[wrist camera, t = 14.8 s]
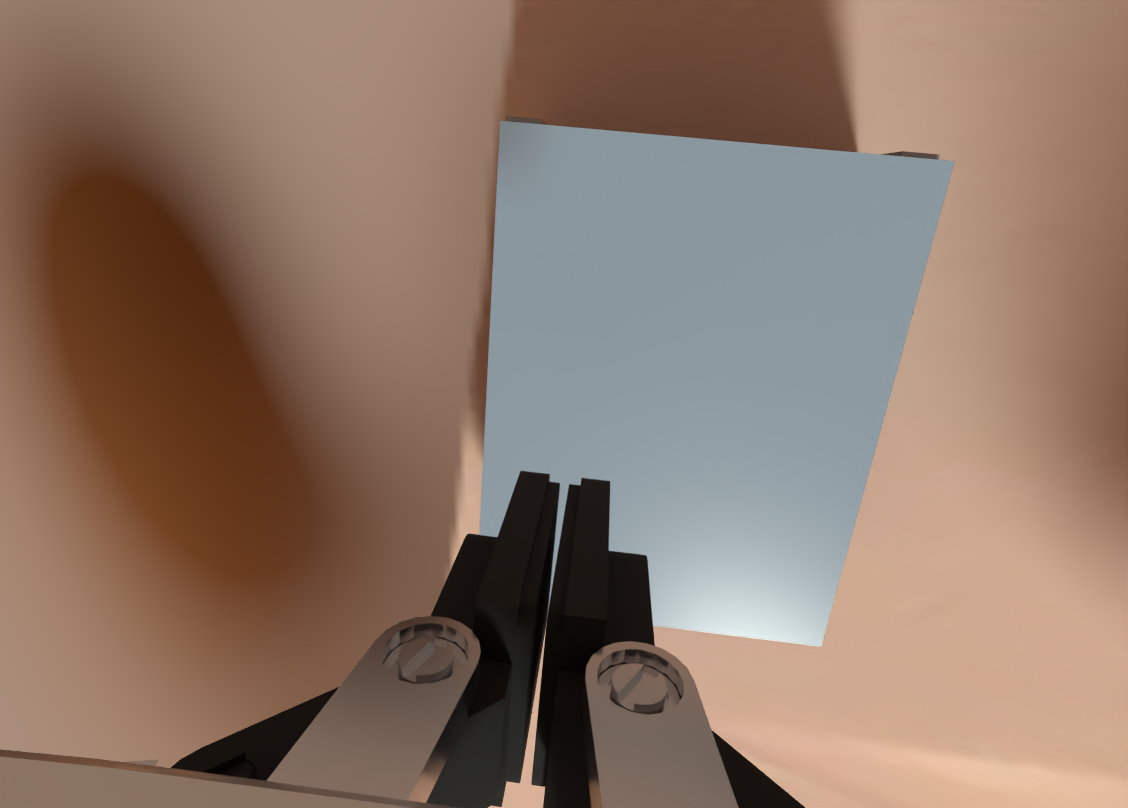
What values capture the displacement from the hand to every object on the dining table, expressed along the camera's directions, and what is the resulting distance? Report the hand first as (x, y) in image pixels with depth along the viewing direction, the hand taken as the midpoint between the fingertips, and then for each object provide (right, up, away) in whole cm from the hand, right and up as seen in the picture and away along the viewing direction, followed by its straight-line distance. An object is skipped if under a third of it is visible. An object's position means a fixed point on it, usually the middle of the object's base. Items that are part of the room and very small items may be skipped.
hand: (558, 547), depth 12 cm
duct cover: (+4, +3, +8) cm, 9 cm away
